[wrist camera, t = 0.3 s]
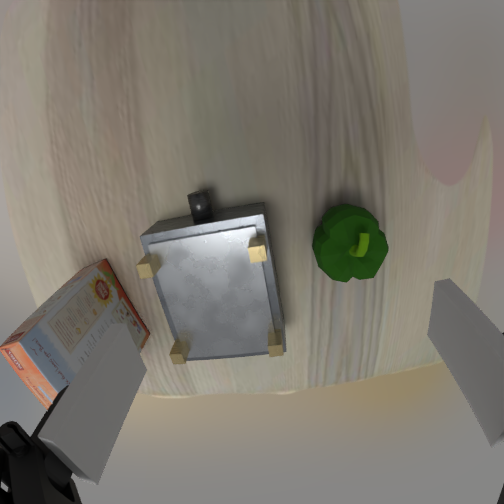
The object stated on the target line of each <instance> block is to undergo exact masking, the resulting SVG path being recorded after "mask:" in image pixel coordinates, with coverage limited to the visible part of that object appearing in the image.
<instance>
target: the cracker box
mask: <svg viewBox="0 0 504 504" xmlns="http://www.w3.org/2000/svg"><path fill="white" fill-rule="evenodd" d="M117 323H126V325H127V328H128V330H129V332H130V334H131V337H132V339H133V341H134V343H135V346H136V348H137V350H138V352H139V354H140V352H141V350H142V348H143V346H144V345H145V343H146V341H147V339H148V337H149V335H150V334H149V332H148V330H147V329H146V327H145V326H144V324H143V322H142V321H141V319H140V318H139V316H138V314H137V313H136V311H135V309H134V308H133V306H132V304H131V303H130V301H129V299H128V298H127V296H126V294H125V293H124V291H123V289H122V287H121V286H120V284H119V282H118V280H117V278H116V277H115V275H114V273H113V271H112V269H111V268H110V266H109V264H108V262H107V260H106V259H104V260H102V261H99V262H97V263H95V264H93V265H90V266H88V267H86V268H84V269H82V270H80V271H79V272H78V273H77V274H76V275H75V276H73V277H72V278H71V279H70V280H69V281H67V282H66V283H65V284H64V285H63V286H62V287H61V288H60V289H58V290H57V291H56V292H55V293H54V294H53V295H52V296H51V297H50V298H49V299H48V300H47V301H46V302H44V303H43V304H42V305H41V306H40V307H39V308H38V309H37V310H36V311H35V312H34V313H33V314H32V315H31V316H30V317H28V318H27V319H26V320H25V321H24V322H23V323H22V324H21V325H20V327H18V328H17V330H15V332H14V333H12V334H11V336H10V337H9V338H8V339H7V340H6V341H5V342H4V343H3V344H2V345H1V346H0V351H1V353H2V354H3V355H4V356H5V358H6V359H7V361H8V362H9V364H10V365H11V366H12V368H13V369H14V370H15V372H16V373H17V374H18V376H19V377H20V378H21V379H22V381H23V382H24V383H25V384H26V386H27V387H28V388H29V389H30V391H31V392H32V393H33V394H34V395H35V396H36V398H37V399H38V400H39V401H40V402H41V403H42V404H43V406H44V407H45V408H46V409H47V410H48V408H49V407H50V405H51V404H53V403H52V402H53V400H54V399H55V397H56V396H57V394H58V393H59V392H60V391H61V390H62V389H64V388H65V387H66V386H67V385H70V383H71V382H72V380H73V379H74V377H75V376H76V374H77V373H78V371H79V370H80V368H81V367H82V365H83V364H84V362H85V361H86V359H87V358H88V357H89V355H90V354H91V352H92V351H93V349H94V348H95V346H96V345H97V344H98V342H99V341H100V339H101V338H102V336H103V335H104V334H105V332H106V331H107V330H108V328H109V327H110V325H111V324H117Z"/></svg>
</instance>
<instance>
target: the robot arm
mask: <svg viewBox="0 0 504 504" xmlns="http://www.w3.org/2000/svg"><path fill="white" fill-rule="evenodd" d="M427 335H428V337H429V338H430V340H431V341H432V343H433V344H434V346H435V347H436V349H437V351H438V352H439V354H440V355H441V357H442V359H443V360H444V362H445V363H446V365H447V367H448V368H449V370H450V372H451V373H452V375H453V376H454V378H455V380H456V382H457V384H458V385H459V387H460V389H461V390H462V392H463V394H464V396H465V398H466V399H467V401H468V403H469V405H470V407H471V408H472V410H473V412H474V414H475V416H476V418H477V420H478V422H479V424H480V426H481V427H482V429H483V431H484V433H485V435H486V437H487V439H488V441H489V443H490V446H491V447H494V446H496V445H498V444H500V443H502V442H504V333H501V332H500V331H499V329H498V328H497V327H496V326H495V325H494V324H493V323H492V322H491V321H490V319H489V318H488V317H487V316H486V315H485V314H484V313H483V312H482V311H481V310H480V309H479V308H478V307H477V306H476V305H475V303H474V302H473V301H472V300H471V299H470V298H469V297H468V296H467V295H466V294H465V293H464V292H463V291H462V290H461V289H460V288H459V287H458V286H457V285H456V284H455V283H454V282H453V281H452V280H451V279H450V278H449V279H444V280H440V281H435V284H434V293H433V301H432V309H431V316H430V322H429V328H428V334H427ZM146 371H147V369H146V367H145V365H144V363H143V360H142V358H141V356H140V354H139V352H138V350H137V348H136V346H135V343H134V341H133V339H132V337H131V334H130V332H129V330H128V328H127V325H126V323H117V324H111V325H110V327H109V328H108V330H107V331H106V332H105V334H104V335H103V336H102V338H101V339H100V341H99V342H98V344H97V345H96V346H95V348H94V349H93V351H92V352H91V354H90V355H89V357H88V358H87V359H86V361H85V362H84V364H83V365H82V367H81V368H80V370H79V371H78V373H77V374H76V376H75V377H74V379H73V380H72V382H71V383H70V385H67V386H66V387H65V388H64V389H62V390H61V391H60V392H59V393H58V394H57V396H56V397H55V399H54V400H53V402H52V403H53V404H51V405H50V407H49V408H48V412H47V411H46V413H45V414H44V417H43V418H42V419H41V421H40V423H39V424H38V426H37V427H36V429H35V431H34V432H33V434H32V436H31V437H29V435H28V434H27V433H26V432H25V431H24V430H23V429H22V427H21V426H20V425H19V424H18V423H17V422H14V421H10V422H7V423H5V424H3V425H2V426H1V427H0V504H82V503H81V500H80V497H79V494H78V491H77V488H76V485H75V483H74V481H73V479H71V475H72V473H74V474H75V475H76V476H77V477H79V478H80V479H81V480H82V481H86V482H89V483H92V484H96V485H98V483H99V480H100V478H101V475H102V473H103V470H104V468H105V466H106V463H107V460H108V458H109V456H110V453H111V451H112V448H113V446H114V444H115V441H116V439H117V437H118V434H119V432H120V429H121V427H122V425H123V422H124V420H125V418H126V416H127V413H128V411H129V409H130V406H131V404H132V402H133V400H134V397H135V395H136V393H137V391H138V388H139V386H140V384H141V382H142V380H143V377H144V375H145V373H146ZM1 481H2V482H3V483H4V484H5V485H6V486H8V492H6V491H5V490H3V489H2V488H1ZM497 504H504V485H503V488H502V491H501V494H500V497H499V500H498V502H497Z"/></svg>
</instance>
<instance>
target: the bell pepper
mask: <svg viewBox="0 0 504 504" xmlns="http://www.w3.org/2000/svg"><path fill="white" fill-rule="evenodd" d="M312 247H313V250H314V254H315V257H316V260H317V263H318V267H319V268H321V269H322V270H323V271H324V272H325V273H326V274H327V275H328V276H329V277H330V278H331V279H332V280H336V281H341V282H348V281H349V280H350V279H351V278H352V277H355V278H357V279H359V280H361V279H369V278H374V276H375V275H376V273H377V271H378V270H379V268H380V266H381V264H382V263H383V261H384V259H385V257H386V255H387V253H388V244H387V241H386V237H385V234H384V233H383V232H382V231H381V230H380V229H379V224H378V221H377V220H376V219H375V218H374V216H373V215H372V214H371V213H370V212H368V211H367V210H366V209H364V208H361V207H357V206H353V205H349V204H343V205H339V206H335V207H332V208H330V209H329V210H328V211H327V212H326V213H325V215H324V216H323V217H322V225H320V226H319V227H317V228H316V230H315V233H314V238H313V244H312Z"/></svg>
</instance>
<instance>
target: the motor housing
mask: <svg viewBox="0 0 504 504" xmlns="http://www.w3.org/2000/svg"><path fill="white" fill-rule="evenodd" d="M187 196H188V201H189V205H190V209H191V214H192V215H188V216H183V217H178V218H173V219H168V220H163V221H158V222H156V223H155V224H154V225H153V226H151V227H150V228H149V229H148V230H147V231H145V232H144V233H143V234H142V235H141V236H140V239H141V243H142V246H143V249H144V253H145V256H144V257H143V258H142V259H141V261H140V262H139V263H138V264H137V265H136V267H137V270H138V273H139V276H140V279H144V278H151V277H152V278H153V281H154V284H155V287H156V290H157V293H158V296H159V299H160V301H161V304H162V307H163V310H164V313H165V315H166V318H167V321H168V324H169V326H170V329H171V332H172V334H173V337H174V339H175V342H174V345H173V347H172V349H171V352H170V354H169V355H170V357H171V360H172V362H173V364H185V363H186V361H192V360H209V359H222V358H234V357H245V356H255V355H264V354H269V356H270V357H274V356H282V355H283V352H286V337H285V324H284V317H283V311H282V305H281V299H280V293H279V287H278V280H277V274H276V268H275V262H274V257H273V251H272V245H271V239H270V233H269V227H268V222H267V216H266V210H265V205H264V202H261V203H255V204H249V205H244V206H238V207H232V208H226V209H221V210H215V211H212V207H211V202H210V198H209V193H208V190H203V191H198V192H194V193H191V194H188V195H187Z"/></svg>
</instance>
